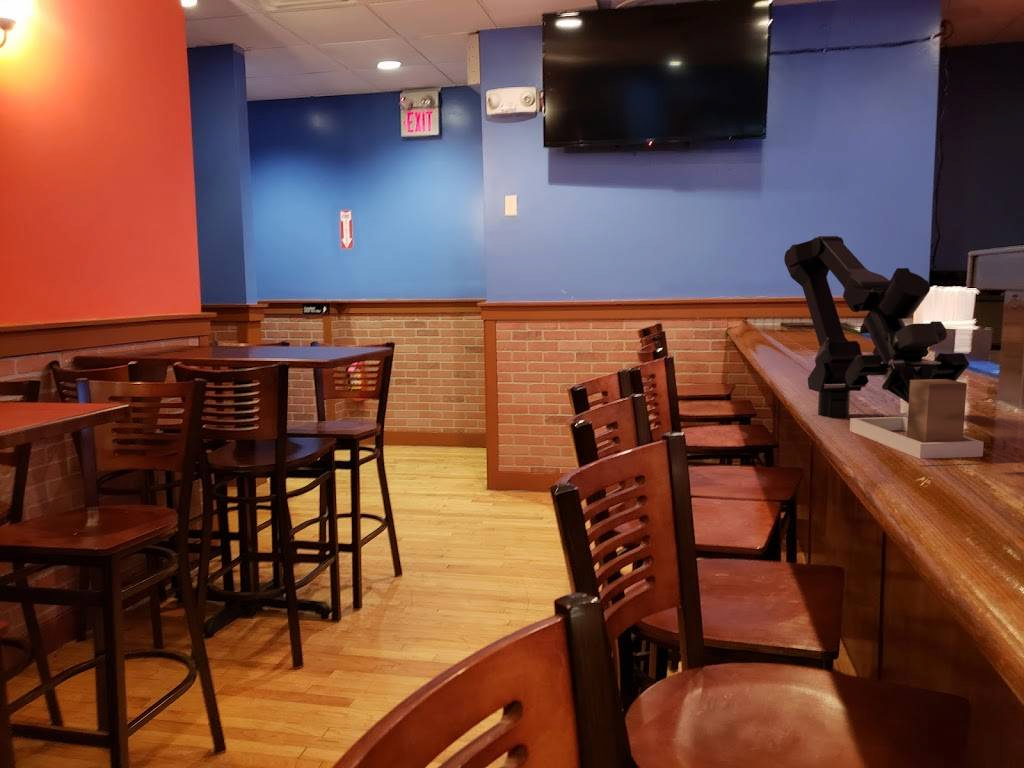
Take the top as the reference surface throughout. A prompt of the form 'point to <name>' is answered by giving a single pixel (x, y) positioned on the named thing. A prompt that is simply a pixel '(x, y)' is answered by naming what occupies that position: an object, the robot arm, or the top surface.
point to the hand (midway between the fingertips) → (925, 411)
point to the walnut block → (936, 410)
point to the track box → (882, 433)
